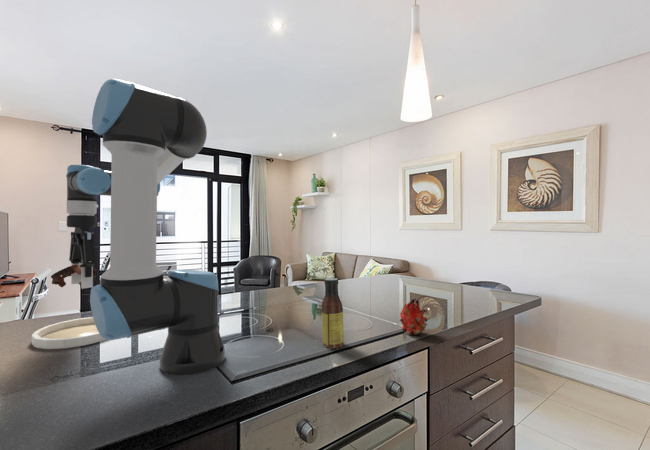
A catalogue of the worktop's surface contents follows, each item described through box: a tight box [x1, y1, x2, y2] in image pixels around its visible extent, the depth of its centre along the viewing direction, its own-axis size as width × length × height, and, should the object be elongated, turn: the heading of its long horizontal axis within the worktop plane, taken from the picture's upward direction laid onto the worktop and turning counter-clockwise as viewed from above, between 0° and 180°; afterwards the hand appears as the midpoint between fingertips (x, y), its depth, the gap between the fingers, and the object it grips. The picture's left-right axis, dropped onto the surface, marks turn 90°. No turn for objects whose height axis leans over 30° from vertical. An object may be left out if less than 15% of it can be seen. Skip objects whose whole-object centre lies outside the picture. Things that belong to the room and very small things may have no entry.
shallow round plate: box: [31, 316, 107, 350], centre depth 99 cm, size 22×22×3 cm
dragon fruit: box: [399, 298, 429, 336], centre depth 101 cm, size 8×8×12 cm
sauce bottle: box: [321, 277, 345, 349], centre depth 91 cm, size 6×6×20 cm
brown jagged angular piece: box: [50, 264, 97, 290], centre depth 99 cm, size 12×9×8 cm
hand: (81, 285), depth 99 cm, fingers closed on brown jagged angular piece, 9 cm apart
